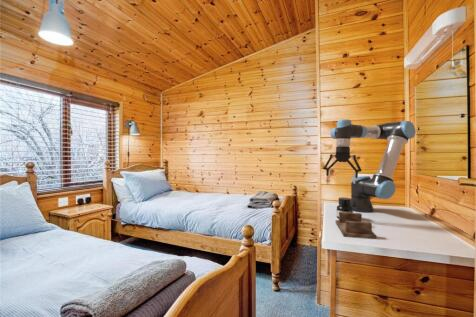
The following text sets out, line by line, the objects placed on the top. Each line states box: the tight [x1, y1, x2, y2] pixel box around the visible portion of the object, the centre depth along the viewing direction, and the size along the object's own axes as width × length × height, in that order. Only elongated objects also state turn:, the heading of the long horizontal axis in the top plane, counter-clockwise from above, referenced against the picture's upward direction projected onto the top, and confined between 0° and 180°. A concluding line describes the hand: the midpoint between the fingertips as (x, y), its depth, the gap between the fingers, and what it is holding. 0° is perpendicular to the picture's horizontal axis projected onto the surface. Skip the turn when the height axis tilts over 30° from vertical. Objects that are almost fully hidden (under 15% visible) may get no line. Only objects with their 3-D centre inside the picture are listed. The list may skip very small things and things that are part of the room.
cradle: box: [335, 212, 377, 240], centre depth 120 cm, size 14×22×6 cm, turn 167°
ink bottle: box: [336, 196, 354, 219], centre depth 142 cm, size 10×9×12 cm
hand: (341, 182), depth 137 cm, fingers open, 13 cm apart
